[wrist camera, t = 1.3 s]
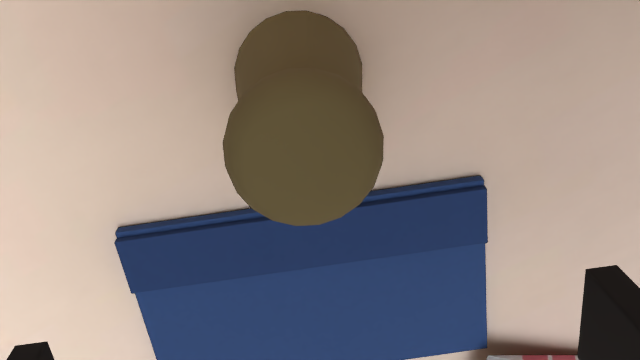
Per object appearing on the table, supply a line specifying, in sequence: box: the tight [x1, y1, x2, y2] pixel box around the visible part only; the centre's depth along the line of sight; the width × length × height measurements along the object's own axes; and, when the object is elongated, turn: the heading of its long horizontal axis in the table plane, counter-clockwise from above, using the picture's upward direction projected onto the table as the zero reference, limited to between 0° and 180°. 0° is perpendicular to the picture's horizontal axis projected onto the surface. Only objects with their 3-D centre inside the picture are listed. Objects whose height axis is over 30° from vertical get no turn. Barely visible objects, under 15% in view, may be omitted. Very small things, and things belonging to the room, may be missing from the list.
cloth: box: [115, 176, 488, 360], centre depth 32 cm, size 19×11×1 cm, turn 98°
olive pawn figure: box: [223, 11, 384, 226], centre depth 22 cm, size 6×6×11 cm
